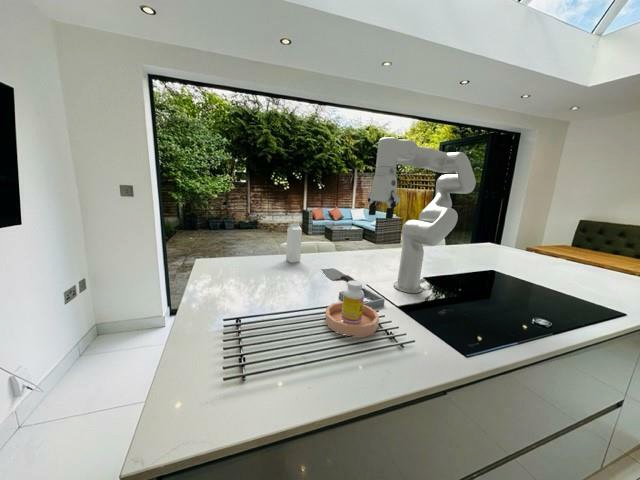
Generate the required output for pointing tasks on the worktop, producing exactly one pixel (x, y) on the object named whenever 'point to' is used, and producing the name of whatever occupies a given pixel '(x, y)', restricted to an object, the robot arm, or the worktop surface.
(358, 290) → the supplement bottle
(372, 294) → the grey square frame
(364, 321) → the bowl
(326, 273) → the cleaver
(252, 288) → the worktop surface
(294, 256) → the milk
